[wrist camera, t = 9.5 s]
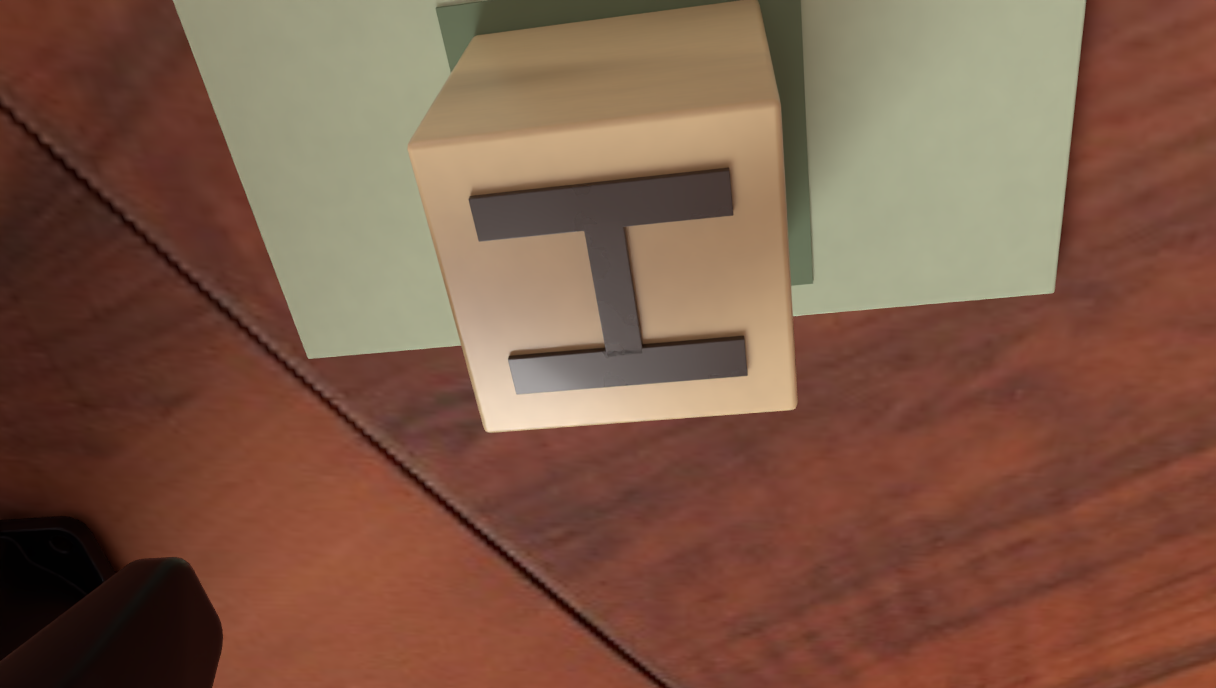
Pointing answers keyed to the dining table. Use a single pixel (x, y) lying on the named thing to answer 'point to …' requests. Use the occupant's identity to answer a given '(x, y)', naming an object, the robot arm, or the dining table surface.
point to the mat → (811, 124)
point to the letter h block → (615, 219)
